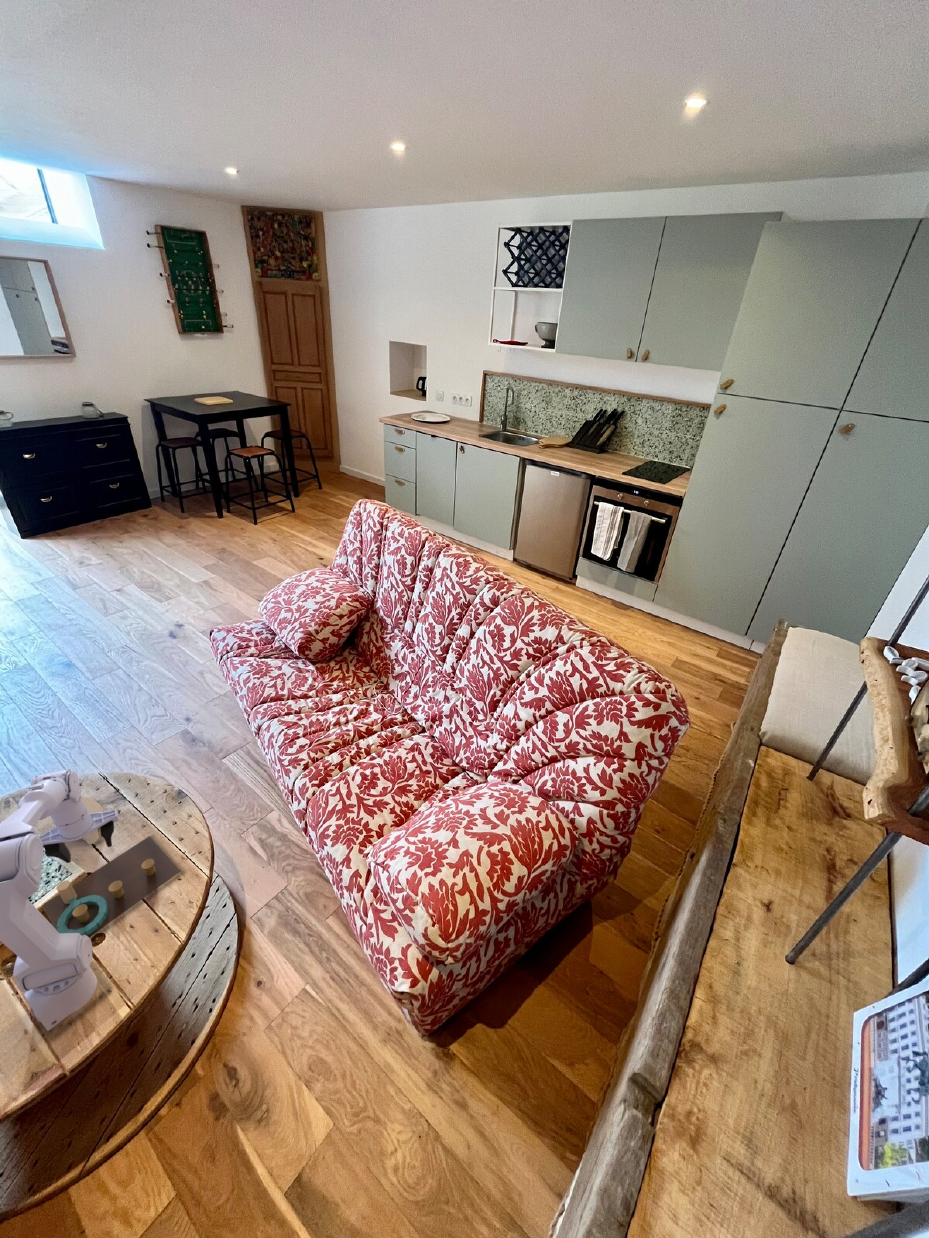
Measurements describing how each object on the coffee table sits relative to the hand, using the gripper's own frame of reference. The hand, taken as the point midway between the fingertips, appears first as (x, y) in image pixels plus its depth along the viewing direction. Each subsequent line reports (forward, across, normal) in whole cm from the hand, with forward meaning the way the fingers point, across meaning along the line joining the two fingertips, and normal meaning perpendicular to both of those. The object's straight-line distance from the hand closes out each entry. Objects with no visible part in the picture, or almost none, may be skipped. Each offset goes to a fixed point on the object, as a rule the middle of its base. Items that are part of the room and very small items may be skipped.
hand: (89, 850), depth 114 cm
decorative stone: (+11, +2, -18) cm, 21 cm away
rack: (+10, -2, +6) cm, 11 cm away
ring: (+8, +4, +9) cm, 13 cm away
